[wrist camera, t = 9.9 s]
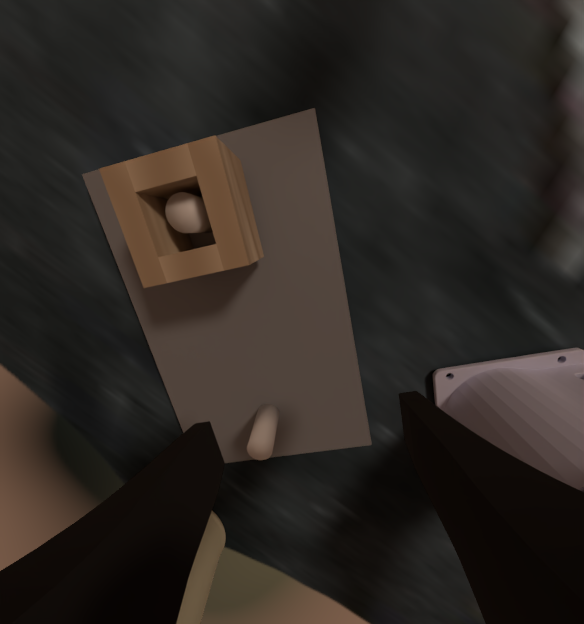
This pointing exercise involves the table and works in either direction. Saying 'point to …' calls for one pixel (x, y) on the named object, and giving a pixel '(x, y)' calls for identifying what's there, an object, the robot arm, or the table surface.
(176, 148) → the ash collar
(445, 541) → the table surface
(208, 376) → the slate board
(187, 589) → the can
